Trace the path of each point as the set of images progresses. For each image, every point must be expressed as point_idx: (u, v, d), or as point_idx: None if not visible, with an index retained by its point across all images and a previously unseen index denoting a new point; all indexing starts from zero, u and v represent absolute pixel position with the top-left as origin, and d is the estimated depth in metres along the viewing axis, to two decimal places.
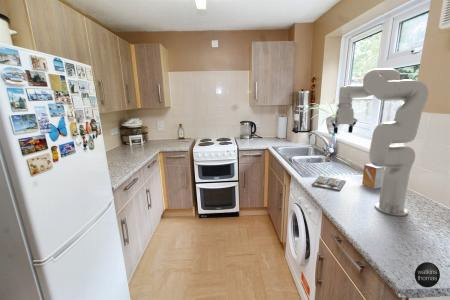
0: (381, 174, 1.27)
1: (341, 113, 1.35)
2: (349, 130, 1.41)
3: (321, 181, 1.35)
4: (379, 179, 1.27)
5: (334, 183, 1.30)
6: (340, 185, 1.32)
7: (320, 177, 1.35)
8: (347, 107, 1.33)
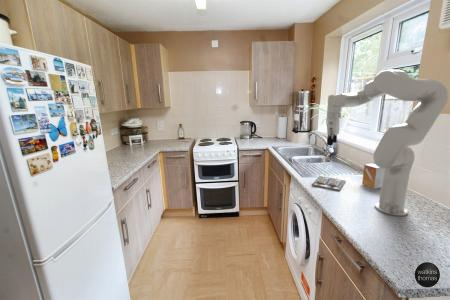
0: (381, 174, 1.27)
1: (336, 123, 1.25)
2: (333, 140, 1.35)
3: (321, 181, 1.35)
4: (379, 179, 1.27)
5: (334, 183, 1.30)
6: (340, 185, 1.32)
7: (320, 177, 1.35)
8: (340, 116, 1.26)
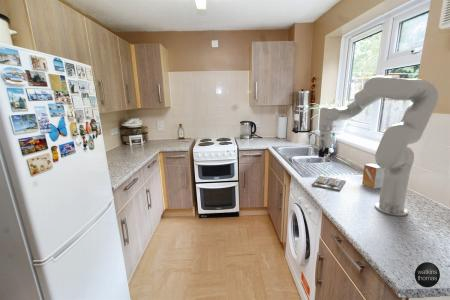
0: (381, 174, 1.27)
1: (328, 136, 1.27)
2: (325, 151, 1.37)
3: (321, 181, 1.35)
4: (379, 179, 1.27)
5: (334, 183, 1.30)
6: (340, 185, 1.32)
7: (320, 177, 1.35)
8: (331, 129, 1.27)
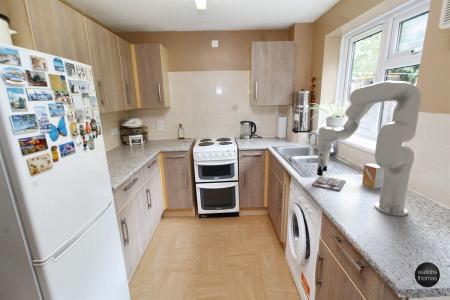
0: (381, 174, 1.27)
1: (326, 155, 1.29)
2: (323, 169, 1.40)
3: (321, 181, 1.35)
4: (379, 179, 1.27)
5: (334, 183, 1.30)
6: (340, 185, 1.32)
7: (320, 177, 1.35)
8: (330, 148, 1.30)
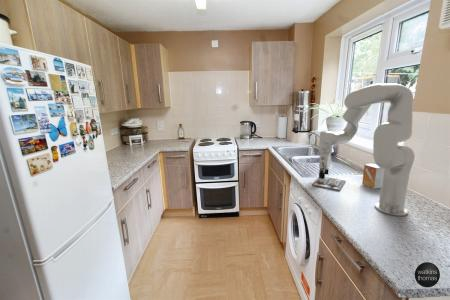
0: (381, 174, 1.27)
1: (328, 158, 1.32)
2: (325, 172, 1.42)
3: (322, 180, 1.36)
4: (379, 179, 1.27)
5: (334, 183, 1.30)
6: (340, 185, 1.32)
7: None
8: (331, 152, 1.33)
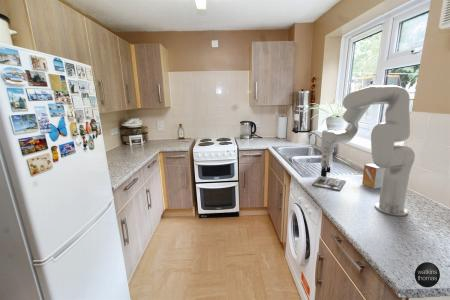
0: (381, 174, 1.27)
1: (329, 157, 1.36)
2: (327, 170, 1.46)
3: (324, 178, 1.39)
4: (379, 179, 1.27)
5: (334, 183, 1.30)
6: (340, 185, 1.32)
7: None
8: (333, 151, 1.36)
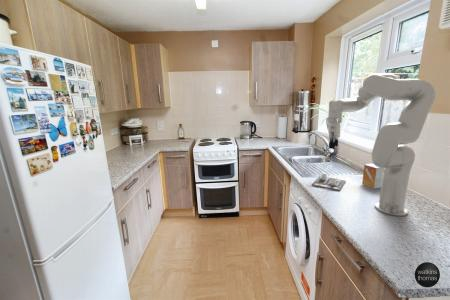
0: (381, 174, 1.27)
1: (338, 127, 1.30)
2: (334, 144, 1.40)
3: (324, 178, 1.39)
4: (379, 179, 1.27)
5: (334, 183, 1.30)
6: (340, 185, 1.32)
7: (323, 174, 1.39)
8: (341, 121, 1.31)
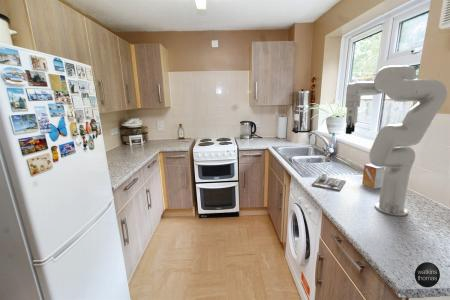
0: (381, 174, 1.27)
1: (356, 111, 1.25)
2: None
3: (324, 178, 1.39)
4: (379, 179, 1.27)
5: (334, 183, 1.30)
6: (340, 185, 1.32)
7: (323, 174, 1.39)
8: (359, 105, 1.26)
